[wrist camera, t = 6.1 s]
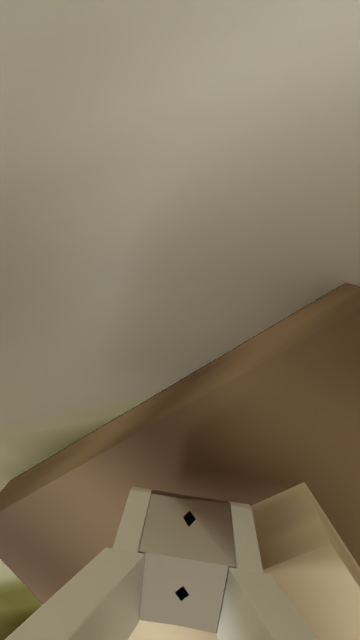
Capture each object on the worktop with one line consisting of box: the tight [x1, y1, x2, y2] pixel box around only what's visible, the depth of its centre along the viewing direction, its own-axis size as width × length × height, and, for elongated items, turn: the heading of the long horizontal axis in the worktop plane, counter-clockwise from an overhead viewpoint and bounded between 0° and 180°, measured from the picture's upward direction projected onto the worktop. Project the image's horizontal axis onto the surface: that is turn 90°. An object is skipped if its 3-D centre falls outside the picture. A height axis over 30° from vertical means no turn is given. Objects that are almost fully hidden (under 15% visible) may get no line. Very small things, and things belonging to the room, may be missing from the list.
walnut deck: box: [0, 283, 360, 604], centre depth 11 cm, size 14×16×2 cm
